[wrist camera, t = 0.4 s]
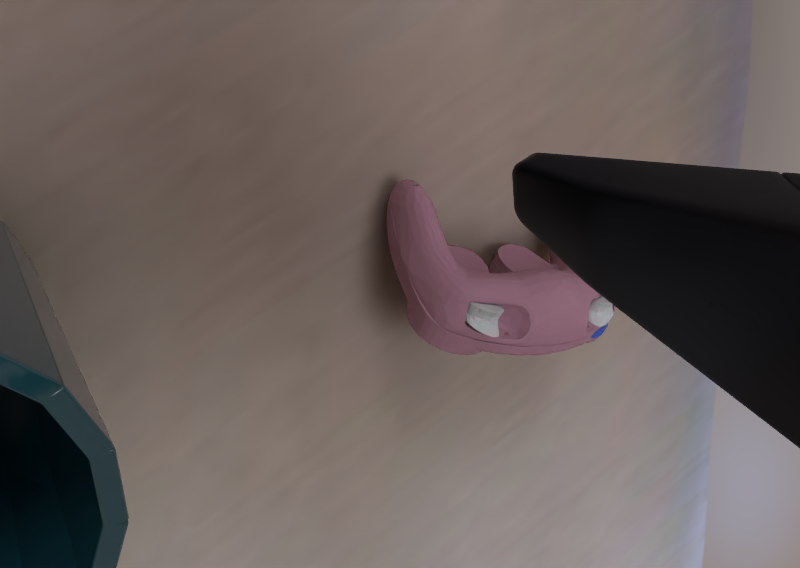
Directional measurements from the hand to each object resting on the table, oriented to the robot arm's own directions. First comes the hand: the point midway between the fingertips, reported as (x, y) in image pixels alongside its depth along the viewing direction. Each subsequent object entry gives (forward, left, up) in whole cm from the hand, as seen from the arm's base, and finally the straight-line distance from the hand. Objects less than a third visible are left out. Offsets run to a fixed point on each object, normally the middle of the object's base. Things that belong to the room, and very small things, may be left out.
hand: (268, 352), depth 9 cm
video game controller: (+1, -16, -16) cm, 22 cm away
